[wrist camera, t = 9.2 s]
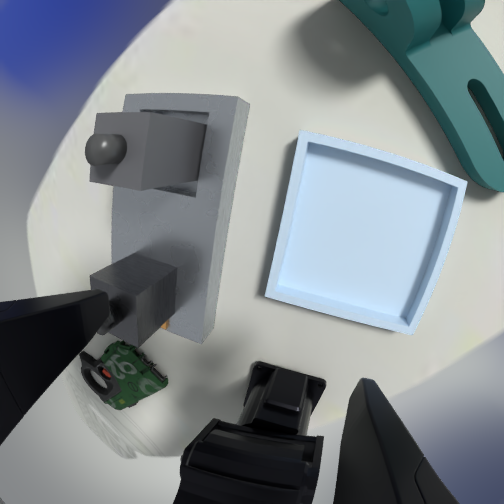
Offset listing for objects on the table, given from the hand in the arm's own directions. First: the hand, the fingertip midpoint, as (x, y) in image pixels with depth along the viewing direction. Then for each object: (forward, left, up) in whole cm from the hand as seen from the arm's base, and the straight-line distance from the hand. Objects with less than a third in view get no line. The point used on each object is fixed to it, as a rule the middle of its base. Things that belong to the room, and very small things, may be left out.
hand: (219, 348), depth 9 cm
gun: (-22, +17, -13) cm, 31 cm away
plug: (+5, +9, -12) cm, 16 cm away
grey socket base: (0, +9, -12) cm, 15 cm away
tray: (+2, -5, -12) cm, 14 cm away
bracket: (+15, -9, -13) cm, 22 cm away
